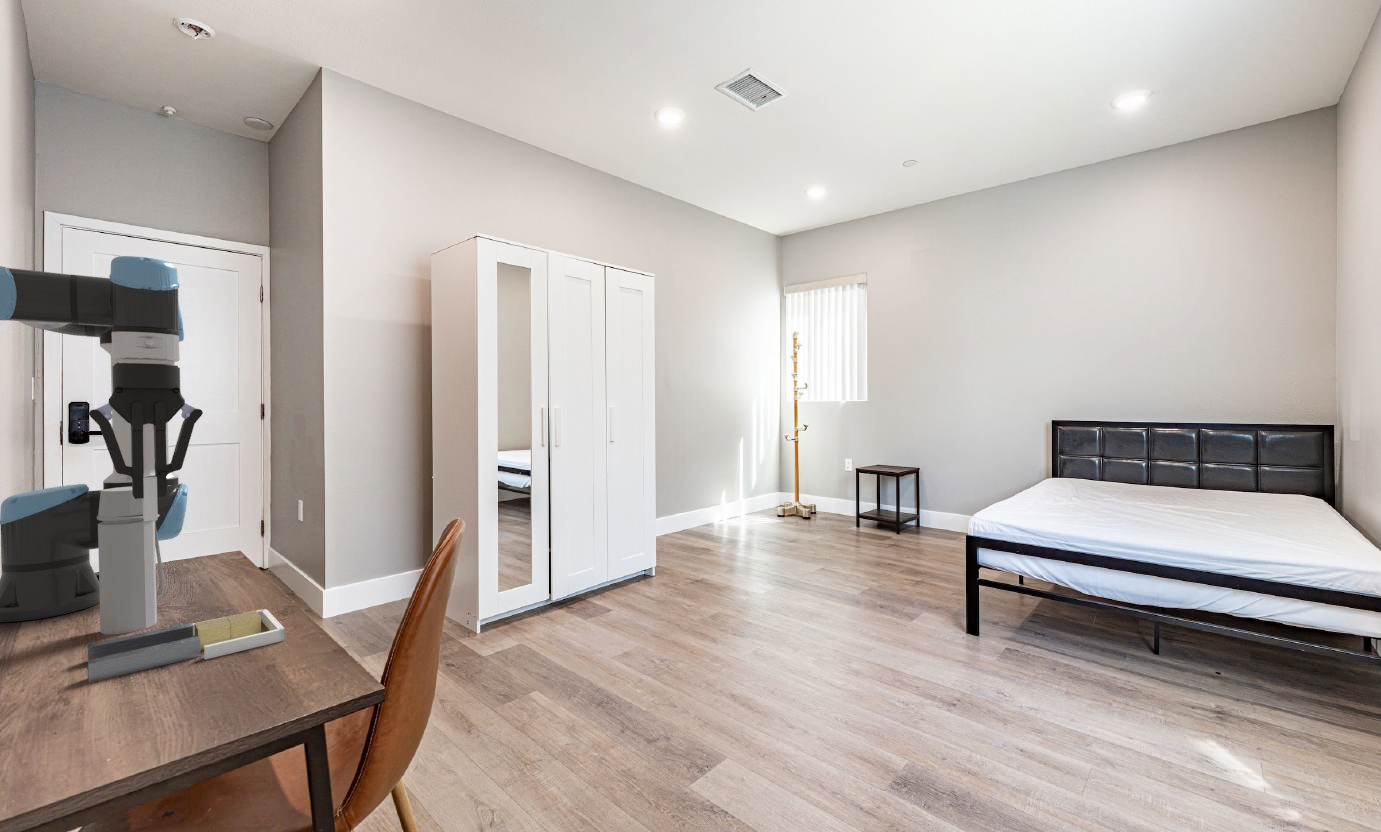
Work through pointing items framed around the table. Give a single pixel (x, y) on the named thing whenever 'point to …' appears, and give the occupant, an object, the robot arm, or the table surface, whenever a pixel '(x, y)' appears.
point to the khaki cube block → (244, 624)
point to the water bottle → (127, 563)
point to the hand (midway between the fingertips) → (150, 519)
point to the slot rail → (141, 651)
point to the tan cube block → (212, 631)
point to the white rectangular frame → (247, 638)
